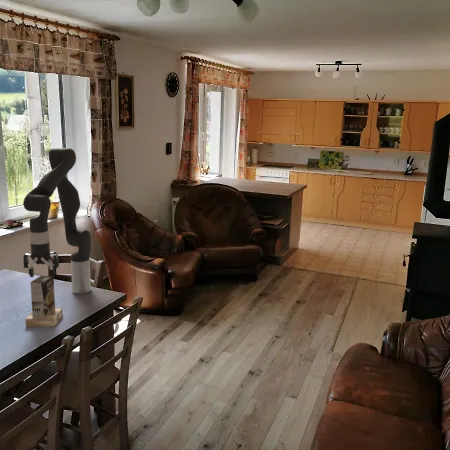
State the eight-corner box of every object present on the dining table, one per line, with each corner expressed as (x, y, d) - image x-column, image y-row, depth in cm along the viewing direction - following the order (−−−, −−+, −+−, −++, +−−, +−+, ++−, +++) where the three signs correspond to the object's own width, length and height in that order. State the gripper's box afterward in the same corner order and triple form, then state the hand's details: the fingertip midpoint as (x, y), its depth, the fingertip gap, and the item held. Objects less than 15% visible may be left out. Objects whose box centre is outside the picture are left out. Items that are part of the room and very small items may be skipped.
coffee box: (46, 318, 194) (44, 283, 190) (32, 316, 195) (29, 282, 191) (56, 309, 203) (54, 275, 199) (42, 308, 204) (40, 274, 200)
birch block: (35, 315, 205) (35, 307, 204) (62, 315, 206) (62, 307, 205) (26, 327, 193) (25, 319, 193) (54, 328, 194) (53, 319, 193)
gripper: (59, 239, 195) (61, 274, 199) (26, 238, 194) (28, 273, 198) (54, 244, 187) (56, 280, 191) (19, 243, 186) (22, 279, 190)
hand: (42, 276), depth 194 cm, fingers open, 8 cm apart
